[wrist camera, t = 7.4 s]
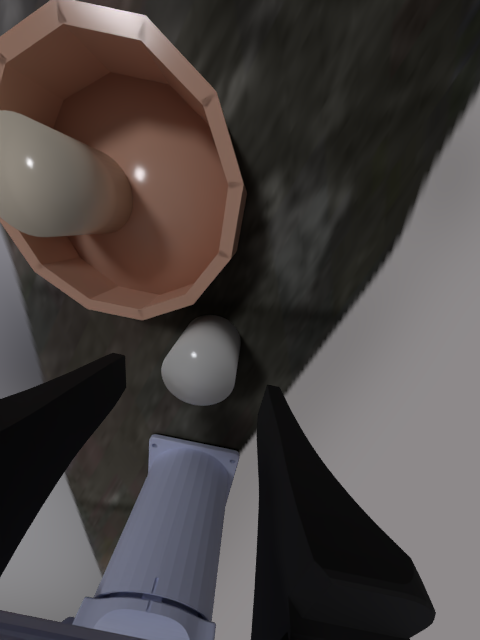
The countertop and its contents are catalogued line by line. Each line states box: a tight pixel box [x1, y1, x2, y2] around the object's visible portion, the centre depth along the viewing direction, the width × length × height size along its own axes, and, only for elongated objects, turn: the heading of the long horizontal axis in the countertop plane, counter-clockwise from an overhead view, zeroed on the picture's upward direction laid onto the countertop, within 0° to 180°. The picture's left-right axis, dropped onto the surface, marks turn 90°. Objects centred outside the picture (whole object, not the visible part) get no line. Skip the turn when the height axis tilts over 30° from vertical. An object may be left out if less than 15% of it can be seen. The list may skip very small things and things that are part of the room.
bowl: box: [0, 0, 247, 320], centre depth 11 cm, size 11×11×3 cm
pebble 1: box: [0, 110, 133, 237], centre depth 10 cm, size 4×4×4 cm
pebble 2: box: [162, 315, 241, 406], centre depth 14 cm, size 4×4×4 cm
